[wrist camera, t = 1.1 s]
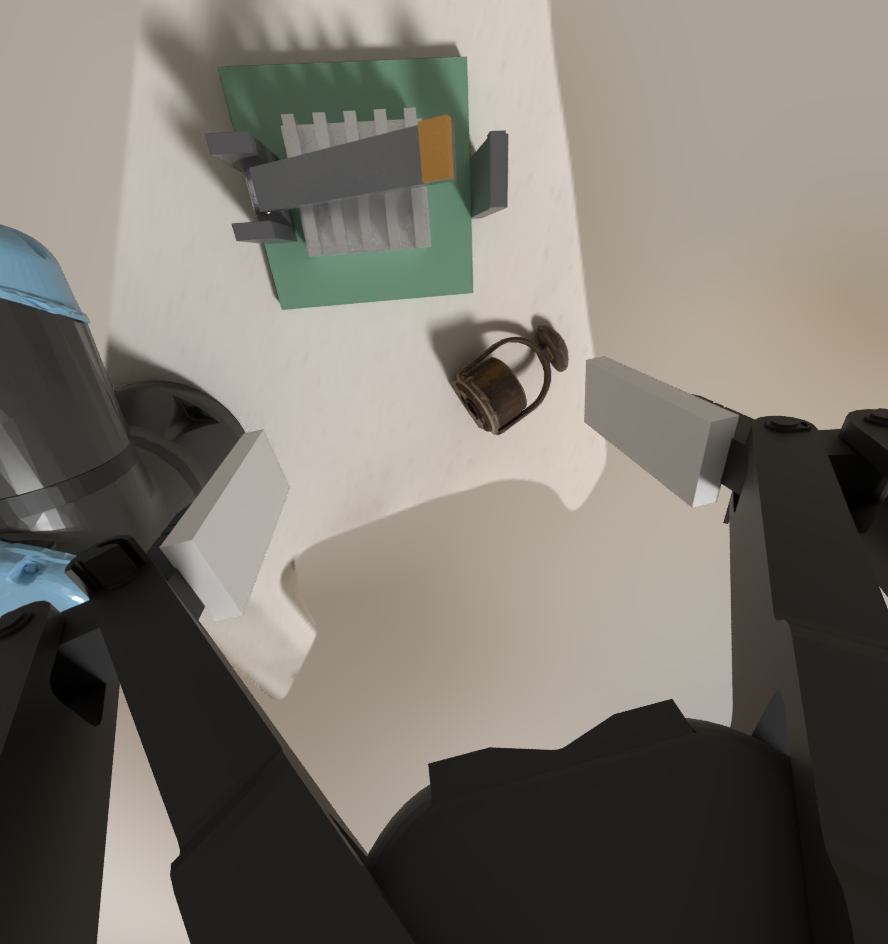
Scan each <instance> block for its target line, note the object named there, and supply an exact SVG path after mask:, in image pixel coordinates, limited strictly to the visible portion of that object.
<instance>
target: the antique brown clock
mask: <svg viewBox="0 0 888 944" xmlns="http://www.w3.org/2000/svg"><path fill="white" fill-rule="evenodd" d="M538 339H539V342H540V345H541V347H542V348H541V347H540V346H539V345H538V344H536V343H535V342H533V341H532V340H529V339H526V338H523V337H510V338H506V339H502V340H500V341H499V342H497V343H495V344H493V345H492V346H491V347H489V348H488V349H487V350H485V351H484V352H483V353H481V354H480V355H479V356H477V357H476V358H474V359H473V360H472V361H471V362H469V363H468V364H467V365H465V366H464V367H463V368H461V369H460V370H459V371H458V372H457V374H456V378H457V380H455V381H452V383H451V386H452V387H453V389H454V390H455V392H456V394H457V395H458V397H459V398H460V400H461V402H462V403H463V405H464V406H465V408H466V409H467V411H468V412H469V414H470V415H471V417H472V418H473V420H474V421H475V423H476V424H477V426H478V427H479V428H481V429H484V430H485V431H487V432H488V431H489V432H492V433H493V434H494V435H500V434H502V433H504V432H505V431H506V430H508V429H509V428H510V427H512V426H513V425H514V424H516V423H517V422H519V421H520V420H521V419H523V418H524V417H525V416H527V415H528V414H529V413H531V412H532V411H533V410H535V409H536V408H537V407H538V406H539V405H540V404H541V403H542V402H543V400H544V398H545V396H546V394H547V392H548V390H549V387H550V382H551V368H550V363H551V364H552V366H553V367H554V368H555V369H556V370H557V371H559V372H562V371H564V370H566V368H567V367H568V360H569V359H568V350H567V346H566V344H565V342H564V340H563V338H562V337H561V336H560V334H559V333H557V332H556V331H554V330H553V329H552V328H550V327H547V326H541V327H540V328H539V329H538ZM508 342H519V343H522V344H525V345H527V346H528V347H530V348H531V349H532V350H533V351H534V352H535V353H536V354H537V356H538V357H539V360H540V362H541V364H542V366H543V370H544V384H543V387H542V390H541V392H540V394H539V396H538V398H537V399H536V400H535V402H533V403H532V404H531V405H530V406H528V407H527V408H526V405H527V400H526V396H525V392H524V390H523V387H522V385H521V384H520V382H519V380H518V379H517V377H516V376H515V374H514V373H513V372H512V370H511V369H510V368H509V367H508V366H507V365H506V364H505V363H504V362H502V361H501V360H499V359H497V358H493V357H491V358H489V359H488V360H487V361H485V362H484V363H483V364H481V365H480V366H478V367H477V368H476V369H474V370H473V371H472V372H470V373H469V374H468V375H466V376H463V373H465V372H466V371H468V370H469V369H471V368H472V367H473V366H475V365H476V364H477V363H479V362H480V361H481V360H482V359H484V358H485V357H486V356H487V355H489V354H490V353H492V352H493V351H494V350H496V349H497V348H498V347H500V346H501V345H503V344H505V343H508ZM525 408H526V409H525ZM524 409H525V410H524ZM522 410H523V411H522Z"/></svg>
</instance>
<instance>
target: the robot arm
mask: <svg viewBox="0 0 888 944" xmlns="http://www.w3.org/2000/svg"><path fill="white" fill-rule="evenodd" d="M87 323H90V321H89V318H88V317H87V315H86V314H84V313H83V312H82V311H81V309H80V307H79V305H78V304H77V301H76V300H75V297H74V295H73V293H72V291H71V289H70V286H69V284H68V282H67V280H66V278H65V276H64V273H63V271H62V269H61V267H60V265H59V263H58V261H57V260H56V258H55V257H54V256H53V255H52V254H51V252H50V251H49V250H48V249H47V248H46V247H44V246H43V245H42V244H41V243H39V242H38V241H37V240H35V239H34V238H32V237H30V236H28V235H26V234H24V233H22V232H20V231H18V230H16V229H13V228H10V227H7V226H3V225H0V944H97V934H98V923H99V911H100V900H101V889H102V878H103V867H104V855H105V844H106V833H107V821H108V809H109V799H110V788H111V776H112V765H113V754H114V741H115V731H116V720H117V708H118V697H119V686H120V684H121V687H122V690H123V693H124V695H125V698H126V701H127V703H128V706H129V709H130V712H131V715H132V717H133V720H134V723H135V726H136V728H137V731H138V734H139V736H140V739H141V742H142V745H143V747H144V750H145V753H146V756H147V758H148V761H149V764H150V767H151V769H152V772H153V775H154V778H155V780H156V783H157V786H158V789H159V791H160V794H161V797H162V799H163V802H164V805H165V807H166V810H167V813H168V816H169V819H170V821H171V824H172V827H173V829H174V832H175V835H176V837H177V840H178V844H179V848H180V855H179V856H178V857H177V858H176V859H175V860H174V861H173V862H172V863H171V872H170V877H171V881H172V885H173V890H174V894H175V897H176V900H177V903H178V907H179V910H180V913H181V915H182V919H183V922H184V925H185V928H186V931H187V934H188V937H189V940H190V943H191V944H888V608H887V606H886V603H885V601H884V598H883V595H882V593H881V590H880V588H881V589H882V590H883V592H884V593H885V594H886V595H887V597H888V409H882V408H879V409H866V410H856V411H853V412H850V413H849V414H848V415H847V416H846V419H845V421H844V424H843V426H842V428H841V429H834V430H818V429H817V428H816V427H815V426H814V425H813V424H812V423H809V422H807V421H805V420H801V419H797V418H794V417H786V416H766V417H760V418H757V419H752V418H750V417H748V416H745V415H743V414H741V413H739V412H736V411H734V410H731V409H729V408H727V407H725V408H724V406H722V405H720V404H717V403H713V401H711V400H708V399H706V398H704V397H701V396H698V395H693V394H689V393H687V392H685V391H682V390H680V389H678V388H676V387H673V386H671V385H669V384H667V383H664V382H662V381H660V380H657V379H655V378H653V377H651V376H648V375H646V374H644V373H641V372H639V371H637V370H635V369H632V368H630V367H628V366H626V365H623V364H621V363H618V362H616V361H614V360H612V359H610V358H607V357H605V356H602V357H598V358H593V359H588V360H586V382H585V414H584V422H585V423H586V424H588V425H589V426H590V427H591V428H593V429H594V430H595V431H596V432H598V433H599V434H600V435H602V436H603V437H604V438H605V439H607V440H608V441H609V442H610V443H612V444H613V445H614V446H615V447H617V448H618V449H619V450H621V451H622V452H623V453H624V454H625V455H627V456H628V457H629V458H630V459H632V460H633V461H634V462H636V463H637V464H638V465H639V466H640V467H642V468H643V469H644V470H646V471H647V472H648V473H649V474H651V475H652V476H653V477H654V478H656V479H657V480H658V481H659V482H661V483H662V484H663V485H664V486H666V487H667V488H668V489H669V490H671V491H672V492H673V493H674V494H676V495H677V496H678V497H679V498H681V499H682V500H683V501H684V502H686V503H687V504H688V505H690V506H691V507H696V506H701V505H705V504H709V503H713V502H717V499H718V495H719V491H720V487H721V484H723V485H725V486H726V487H728V488H729V489H730V490H732V494H731V498H730V502H729V505H728V508H727V512H726V515H725V519H724V522H723V523H726V524H728V523H729V521H730V574H731V575H730V576H731V629H732V630H731V631H732V684H733V685H732V687H733V713H732V721H731V727H727V726H723V725H720V724H716V723H712V722H708V721H703V720H696V719H691V718H685V717H684V716H683V714H682V713H681V711H680V710H679V708H678V707H677V705H676V704H675V702H674V701H673V699H670V700H666V701H662V702H658V703H655V704H651V705H647V706H644V707H640V708H636V709H632V710H629V711H625V712H621V713H617V714H614V715H612V716H611V717H609V718H608V719H606V720H605V721H603V722H602V723H600V724H599V725H597V726H596V727H594V728H593V729H591V730H590V731H588V732H587V733H585V734H584V735H582V736H581V737H579V738H577V739H576V740H574V741H573V742H572V743H570V744H568V745H567V746H565V747H564V748H562V749H558V750H540V749H514V748H491V747H489V748H486V749H482V750H478V751H474V752H470V753H467V754H463V755H460V756H455V757H452V758H448V759H444V760H440V761H437V762H433V763H429V764H428V766H429V776H430V785H428V786H427V787H425V788H424V789H422V790H421V791H419V792H418V793H417V794H416V795H415V796H413V797H412V798H411V799H410V800H409V801H408V802H406V804H404V805H403V807H402V808H401V809H400V810H399V811H398V812H397V813H396V814H395V815H394V816H393V817H392V819H391V820H390V821H389V823H388V824H387V826H386V827H385V828H384V830H383V831H382V832H381V834H380V835H379V837H378V839H377V840H376V842H375V844H374V845H373V847H372V849H371V850H370V852H369V854H367V852H366V851H365V850H364V848H363V847H362V846H361V844H360V843H359V842H358V840H357V839H356V838H355V836H354V835H353V834H352V832H351V831H350V830H349V829H348V827H347V826H346V824H345V823H344V822H343V821H342V819H341V818H340V816H339V815H338V814H337V812H336V811H335V810H334V808H333V807H332V805H331V804H330V802H329V801H328V800H327V798H326V797H325V796H324V794H323V793H322V791H321V790H320V789H319V787H318V786H317V784H316V783H315V782H314V780H313V779H312V777H311V776H310V775H309V773H308V772H307V770H306V769H305V768H304V767H303V765H302V763H301V762H300V761H299V759H298V758H297V756H296V755H295V754H294V752H293V751H292V750H291V748H290V747H289V746H288V744H287V743H286V741H285V740H284V739H283V737H282V736H281V734H280V733H279V731H278V730H277V729H276V727H275V726H274V725H273V723H272V722H271V720H270V719H269V718H268V716H267V715H266V713H265V712H264V710H263V709H262V708H261V706H260V705H259V704H258V702H257V701H256V699H255V698H254V697H253V695H252V694H251V692H250V691H249V690H248V688H247V687H246V685H245V684H244V683H243V681H242V680H241V678H240V677H239V676H238V674H237V673H236V671H235V670H234V669H233V667H232V666H231V664H230V663H229V662H228V660H227V659H226V657H225V656H224V655H223V653H222V652H221V651H220V649H219V648H218V646H217V645H216V644H215V642H214V641H213V639H212V638H211V637H210V635H209V634H208V632H207V631H206V630H205V628H204V627H203V626H202V624H201V623H200V622H199V621H198V620H199V618H200V616H201V614H202V612H203V610H204V608H205V609H206V610H207V612H208V613H209V614H210V616H211V617H212V618H213V620H214V621H215V622H217V621H221V620H225V619H229V618H233V617H237V616H242V615H243V614H244V611H245V609H246V606H247V603H248V601H249V598H250V595H251V592H252V590H253V587H254V584H255V582H256V579H257V576H258V574H259V571H260V568H261V565H262V563H263V560H264V557H265V555H266V552H267V549H268V546H269V544H270V541H271V538H272V536H273V533H274V530H275V527H276V525H277V522H278V519H279V517H280V514H281V511H282V508H283V506H284V503H285V500H286V498H287V495H288V492H289V489H290V486H289V484H288V482H287V480H286V477H285V475H284V473H283V471H282V469H281V466H280V464H279V462H278V460H277V458H276V455H275V453H274V451H273V449H272V447H271V444H270V442H269V440H268V438H267V436H266V434H265V431H264V429H263V430H258V431H254V432H249V433H245V431H244V430H243V428H242V427H241V425H240V424H239V422H238V421H237V420H236V419H235V417H234V416H233V415H232V414H231V413H230V412H229V411H228V410H227V409H226V408H224V407H223V406H222V405H221V404H219V403H218V402H217V401H215V400H214V399H212V398H211V397H209V396H207V395H205V394H203V393H202V392H199V391H197V390H195V389H192V388H190V387H187V386H184V385H180V384H176V383H171V382H164V381H145V382H139V383H134V384H131V385H128V386H125V387H123V388H121V389H119V390H117V391H115V392H114V391H113V388H112V386H111V383H110V381H109V378H108V375H107V373H106V370H105V368H104V365H103V363H102V360H101V358H100V355H99V352H98V350H97V347H96V344H95V342H94V339H93V337H92V335H91V332H90V329H89V327H88V324H87ZM879 587H880V588H879Z"/></svg>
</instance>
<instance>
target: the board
mask: <svg viewBox="0 0 888 944" xmlns="http://www.w3.org/2000/svg"><path fill="white" fill-rule="evenodd" d="M218 71H219V75H220V79H221V82H222V86H223V90H224V94H225V97H226V101H227V105H228V109H229V112H230V116H231V120H232V124H233V127H234V131H235V132H245V131H249V132H250V133H251V134H252V135H253V136H254V137H255V138H257V139H258V140H259V141H260V142H261V143H262V144H263V145H264V146H266V147H267V148H268V149H269V150H270V151H271V152H272V153H273V154H275V155H276V156H277V157H278V158H279V160H282V159H286V158H287V153H286V148H285V144H284V139H283V135H282V130H281V126H283V122H282V117H281V114H294V115H295V117H296V118H297V120H298V121H299V123H300V124H301V125H306V124H314V120H313V115H312V113H316V112H325V114H326V117H327V119H328V121H329V123H343V122H345V121H344V115H343V111H355V112H356V116H357V120H358V122H362V121H375V119H374V110H375V109H386V117H387V120H400V119H403V110H404V108H414V107H416V118H417V119H419V118H422V121H423V120H427V119H431V118H434V117H438V116H442V115H448V116H450V117H451V120H453V121H454V128H455V152H456V176H457V181H453V182H447V183H441V184H436V185H430V186H427V194H428V208H429V221H430V235H431V247H429V248H418V249H406V250H393V251H380V252H368V253H355V254H342V255H329V256H317V257H309V254H308V250H307V245H306V240H305V236H304V231H303V227H302V222H301V217H300V213H299V208H294V209H291V214H292V218H293V223H294V227H295V231H296V236H297V240H298V242H287V243H274V244H265V248H266V252H267V256H268V259H269V263H270V267H271V271H272V274H273V278H274V282H275V286H276V289H277V293H278V297H279V301H280V305H281V308H282V310H285V309H296V308H307V307H319V306H330V305H341V304H353V303H364V302H375V301H387V300H398V299H409V298H421V297H432V296H443V295H455V294H466V293H473V264H472V227H471V189H470V152H469V114H468V77H467V57H445V58H421V59H397V60H373V61H348V62H324V63H300V64H275V65H251V66H227V67H218ZM257 218H258V216H257ZM258 222H259V220H258Z"/></svg>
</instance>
